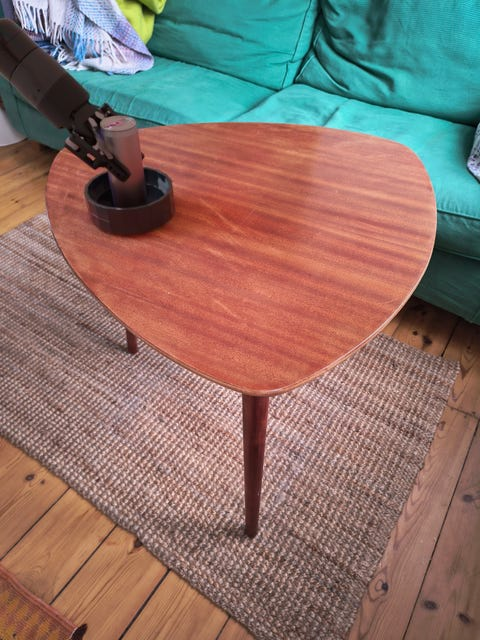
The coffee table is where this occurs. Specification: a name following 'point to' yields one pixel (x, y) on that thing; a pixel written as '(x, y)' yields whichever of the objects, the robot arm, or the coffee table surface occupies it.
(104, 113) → the robot arm
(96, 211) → the dark round dish
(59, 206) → the coffee table surface
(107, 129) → the beverage can
